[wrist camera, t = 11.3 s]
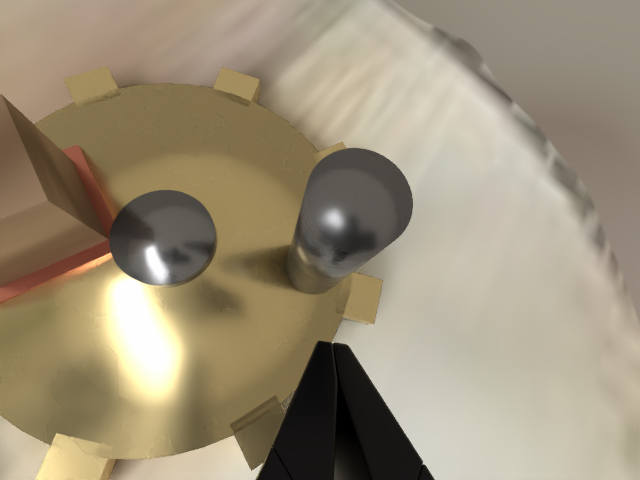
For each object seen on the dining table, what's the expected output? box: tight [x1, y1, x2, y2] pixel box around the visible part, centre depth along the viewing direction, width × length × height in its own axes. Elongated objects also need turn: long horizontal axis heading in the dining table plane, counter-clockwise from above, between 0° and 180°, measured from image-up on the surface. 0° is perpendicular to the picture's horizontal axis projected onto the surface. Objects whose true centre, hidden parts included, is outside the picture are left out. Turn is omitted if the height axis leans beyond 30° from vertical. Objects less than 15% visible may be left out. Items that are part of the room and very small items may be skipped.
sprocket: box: [0, 66, 413, 480], centre depth 12 cm, size 21×21×10 cm
